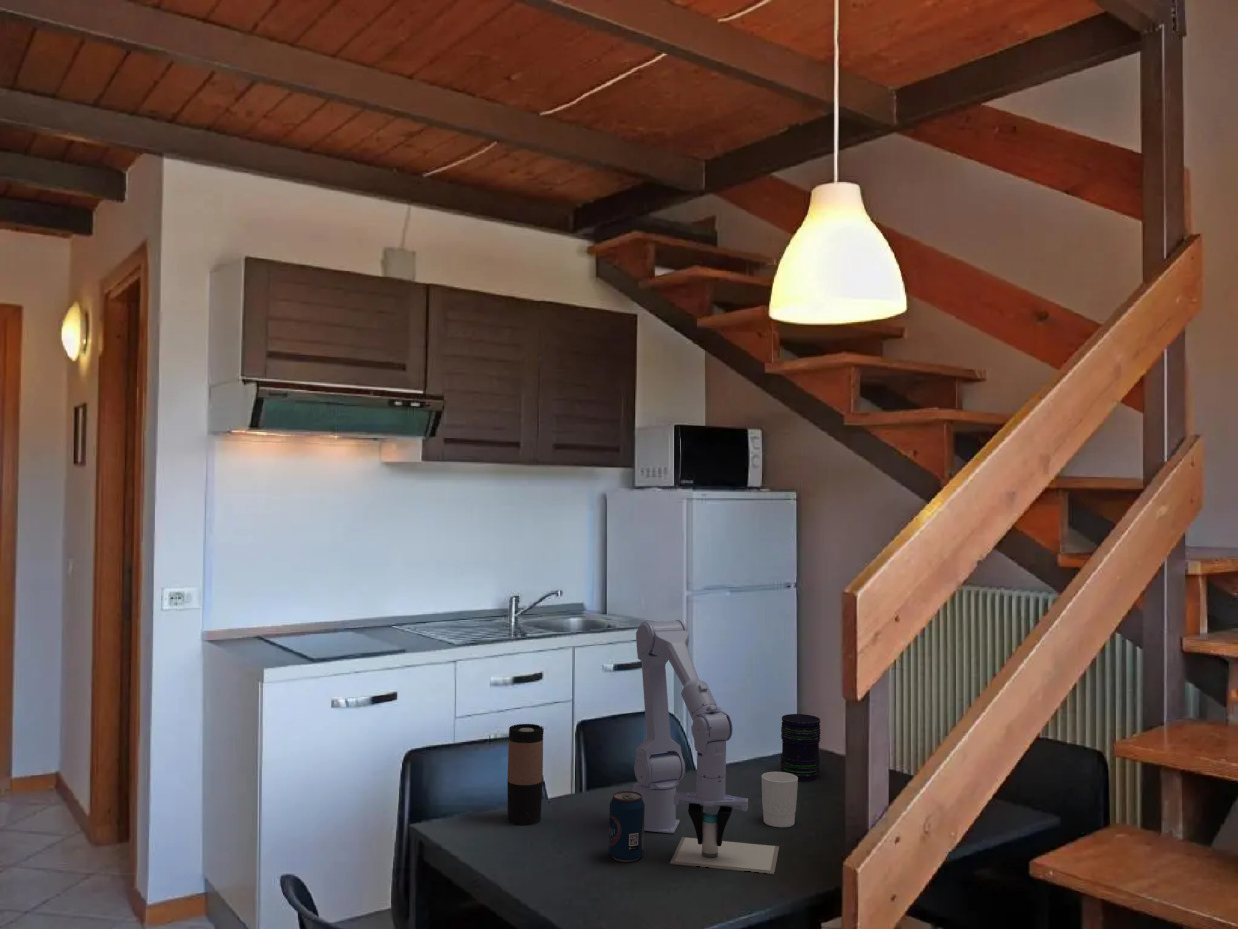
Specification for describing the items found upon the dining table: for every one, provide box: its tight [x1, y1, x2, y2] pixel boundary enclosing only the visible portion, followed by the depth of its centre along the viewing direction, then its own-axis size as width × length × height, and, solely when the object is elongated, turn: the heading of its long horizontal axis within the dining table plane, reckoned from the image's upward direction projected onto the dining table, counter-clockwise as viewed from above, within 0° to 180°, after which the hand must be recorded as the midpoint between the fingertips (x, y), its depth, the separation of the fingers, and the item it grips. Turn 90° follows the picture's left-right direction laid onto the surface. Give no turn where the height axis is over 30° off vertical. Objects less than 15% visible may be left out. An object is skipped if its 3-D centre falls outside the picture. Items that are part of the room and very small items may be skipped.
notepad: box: [669, 836, 780, 875], centre depth 198 cm, size 20×15×1 cm
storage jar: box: [780, 713, 821, 784], centre depth 254 cm, size 10×10×15 cm
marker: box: [702, 811, 718, 858], centre depth 197 cm, size 3×3×8 cm
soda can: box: [608, 790, 645, 863], centre depth 197 cm, size 7×7×12 cm
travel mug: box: [506, 723, 544, 826], centre depth 217 cm, size 8×8×20 cm
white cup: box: [761, 771, 799, 828], centre depth 219 cm, size 8×8×10 cm
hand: (709, 843), depth 197 cm, fingers closed on marker, 3 cm apart
